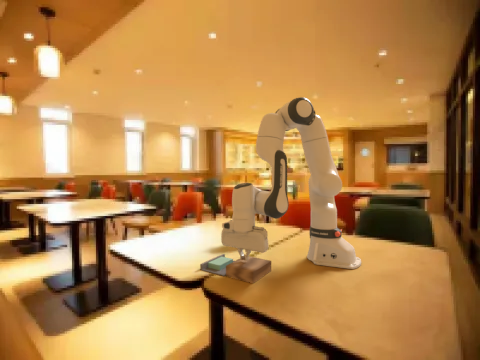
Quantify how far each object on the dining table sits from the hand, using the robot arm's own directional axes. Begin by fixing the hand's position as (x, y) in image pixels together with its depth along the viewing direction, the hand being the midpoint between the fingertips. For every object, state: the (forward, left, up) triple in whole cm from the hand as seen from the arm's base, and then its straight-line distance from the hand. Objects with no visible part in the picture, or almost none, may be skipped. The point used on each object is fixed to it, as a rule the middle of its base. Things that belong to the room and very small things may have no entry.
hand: (244, 259), depth 108 cm
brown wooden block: (-2, 0, -5) cm, 5 cm away
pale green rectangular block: (+12, 0, -3) cm, 12 cm away
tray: (+10, 0, -5) cm, 11 cm away
